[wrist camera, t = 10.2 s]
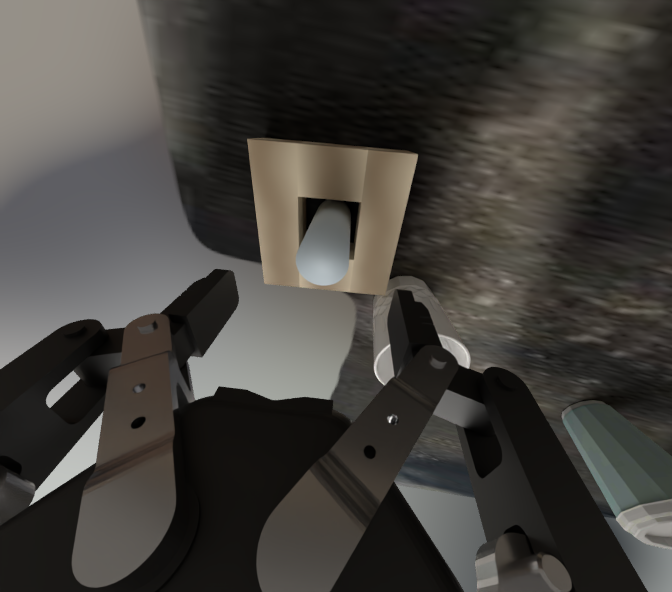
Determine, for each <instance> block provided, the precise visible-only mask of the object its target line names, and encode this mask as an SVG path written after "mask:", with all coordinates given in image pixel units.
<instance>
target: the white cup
mask: <svg viewBox="0 0 672 592" xmlns="http://www.w3.org/2000/svg"><path fill="white" fill-rule="evenodd" d="M395 289H401V290H410V291H412V293H413V296H414V300H415V301H417V302H422V303H423V304H424V305H425V306H426V308H427V309H428V310H429V313H430V315H431V318H432V321H433V325H434V326H435V329H436V331H437V334H438V336H439V339H440V342H441V344H442V347H443V348H444V349H446V350H448V351H449V352H451V353H452V354H453V355H454V356H455V358H456V359H457V361H458V364H459V365H461V366H463V367H466V368H468V369H469V366H470V354H469V351H468V350H467V348H466V346H465V344H464V343H463V341H462V339H461V338H460V336H459V334H458V333H457V331H456V329H455V327H454V326H453V324H452V322H451V321H450V319H449V317H448V315H447V314H446V313H445V311H444V309H443V308H442V306H441V305H440V303H439V301H438V300H437V298H436V297H435V296H434V295H433V293H432V291H431V290H430V288H429V287H428V286H427V285H426V283H425V282H424V281H423V280H420V279H418V278H415V277H413V276H397V277H395V278H392V279H390V280H389V281H388V285H387V289H386V294H385V296H384V295H375V297H374V300H373V307H374V312H373V349H374V371H375V374H376V377H377V378H378V380H379V381H380V382H381V383H382V384H383V385H386V384H387V382H388V381H389V380H390V379H391V378H392V377H394V370H393V363H392V355H391V348H390V341H389V334H388V327H387V318H388V313H389V309H390V305H391V301H392V298H393V294H394V291H395Z"/></svg>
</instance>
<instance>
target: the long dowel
mask: <svg viewBox="0 0 672 592" xmlns="http://www.w3.org/2000/svg"><path fill="white" fill-rule="evenodd" d="M350 228H351V212H350V209H349V207H348V206H347V204H346V203H345V202H343V201H341V200H331V199H327V200H325V201H324V202H322V203H321V204H320V206H319V207H318V209H317V211H316V214H315V216H314V218H313V220H312V222H311V224H310V226H309V228H308V230H307V232H306V234H305V237H304V239H303V241H302V243H301V245H300V247H299V249H298V251H297V254H296V266H297V269H298V271H299V273H300V274H301V275H302V276H303V277H304V278H305V279H306V280H307V281H309V282H311V283H313V284H316V285H321V286H327V285H332V284H335V283H337V282H339V281H340V280H341V279H342V278H343V277H344V276H345V275H346V273H347V271H348V267H349V251H350Z"/></svg>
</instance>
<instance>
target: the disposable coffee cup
mask: <svg viewBox="0 0 672 592" xmlns="http://www.w3.org/2000/svg"><path fill="white" fill-rule="evenodd" d="M562 419H563V423H564V425H565V427H566V429H567V430H568V432H569V434H570V436H571V437H572V439H573V441H574V443H575V445H576V446H577V448H578V450H579V452H580V453H581V455H582V457H583V459H584V461H585V462H586V464H587V466H588V468H589V470H590V471H591V473H592V475H593V477H594V478H595V480H596V482H597V484H598V486H599V487H600V489H601V491H602V493H603V494H604V496H605V498H606V500H607V502H608V503H609V505H610V507H611V509H612V511H613V512H614V514H615V516H616V520H617V521H618V522H619V524H620V525H621V526H622V527H623V529H624V530H626V531H628V532H629V533H631V534H633V536H634V537H636V538H637V539H639V540H640V541H641V542H643V543H645V544H648V545H652V546H656V547H660V548H665V549H672V456H670V455H669V454H668V453H667V452H666V451H664V450H663V449H662V448H661V447H659V446H658V445H657V444H656V443H655V442H653V441H652V440H651V439H650V438H649V437H647V436H646V435H645V434H644V433H642V432H641V431H640V430H639V429H638V428H636V427H635V426H634V425H633V424H631V423H630V422H629V421H628V420H627V419H625V418H624V417H623V416H622V415H620V414H619V413H618V412H617V411H616V410H614V409H613V408H612V407H611V406H610V405H606V404H605V403H604V402H602V401H596V400H589V401H582V402H578V403H576V404H573V405H571V406H569V407H568V408H566V409H565V410H564V411H563V412H562Z"/></svg>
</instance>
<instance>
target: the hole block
mask: <svg viewBox="0 0 672 592" xmlns="http://www.w3.org/2000/svg"><path fill="white" fill-rule="evenodd" d="M247 141H248V149H249V157H250V166H251V174H252V183H253V191H254V200H255V208H256V217H257V225H258V233H259V242H260V250H261V259H262V267H263V274H264V283H265V284H273V285H283V286H293V287H303V288H313V289H324V290H334V291H344V292H354V293H364V294H374V295H384V296H385V294H386V289H387V285H388V281H389V277H390V272H391V268H392V264H393V260H394V256H395V251H396V247H397V243H398V239H399V234H400V230H401V226H402V222H403V217H404V213H405V209H406V205H407V201H408V196H409V192H410V188H411V184H412V179H413V175H414V171H415V167H416V163H417V158H418V154H415V153H413V152H410V151H405V150H394V149H383V148H372V147H361V146H350V145H339V144H328V143H317V142H306V141H295V140H284V139H273V138H254V139H247ZM306 197H309V198H320V199H331V200H341V201H352V202H359V207H358V215H357V223H356V231H355V239H354V243H350V251H349V267H348V271H347V273H346V275H345V276H344V277H343V278H342V279H341V280H340V281H339V282H337V283H335V284H332V285H327V286H321V285H316V284H313V283H311V282H309V281H307V280H306V279H305V278H304V277H303V276H302V275H301V274H300V273H299V271H298V269H297V266H296V254H297V251H298V249H299V247H300V245H301V243H302V241H303V239H304V237H305V234H306Z"/></svg>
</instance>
